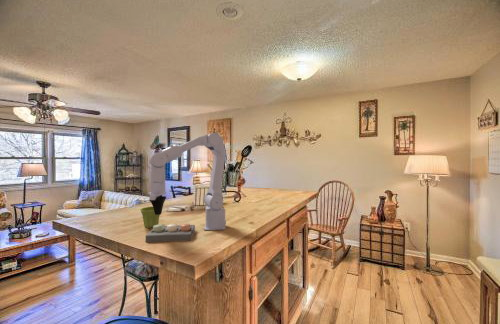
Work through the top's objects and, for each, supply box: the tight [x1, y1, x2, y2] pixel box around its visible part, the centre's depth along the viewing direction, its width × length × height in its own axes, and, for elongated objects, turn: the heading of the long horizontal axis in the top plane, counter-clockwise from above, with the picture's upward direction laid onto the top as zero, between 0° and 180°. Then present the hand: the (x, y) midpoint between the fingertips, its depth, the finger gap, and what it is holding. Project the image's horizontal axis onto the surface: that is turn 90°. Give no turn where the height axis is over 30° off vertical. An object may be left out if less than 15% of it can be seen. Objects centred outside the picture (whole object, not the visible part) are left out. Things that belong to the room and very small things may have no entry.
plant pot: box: [139, 206, 160, 229], centre depth 108 cm, size 9×9×9 cm
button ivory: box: [166, 223, 178, 232], centre depth 95 cm, size 4×4×3 cm
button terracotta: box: [179, 223, 191, 232], centre depth 95 cm, size 4×4×3 cm
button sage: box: [152, 223, 165, 232], centre depth 94 cm, size 4×4×3 cm
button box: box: [145, 224, 196, 243], centre depth 95 cm, size 17×12×3 cm
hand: (158, 214), depth 94 cm, fingers closed
